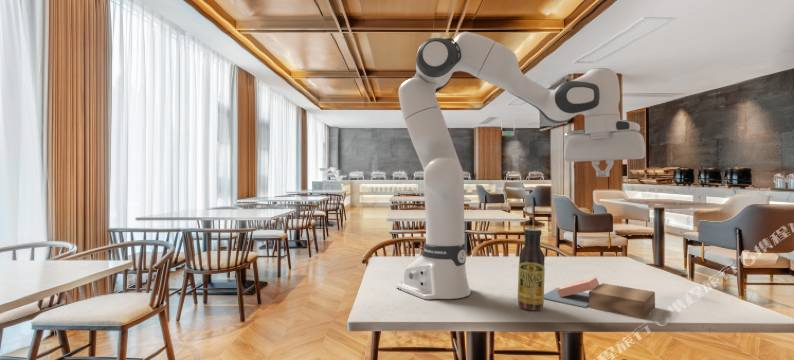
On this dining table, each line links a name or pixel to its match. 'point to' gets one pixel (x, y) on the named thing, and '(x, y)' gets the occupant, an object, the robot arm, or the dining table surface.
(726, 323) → the dining table surface
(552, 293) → the mat
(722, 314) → the dining table surface
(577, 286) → the pink rectangular block
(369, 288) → the dining table surface
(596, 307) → the block
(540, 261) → the sauce bottle
